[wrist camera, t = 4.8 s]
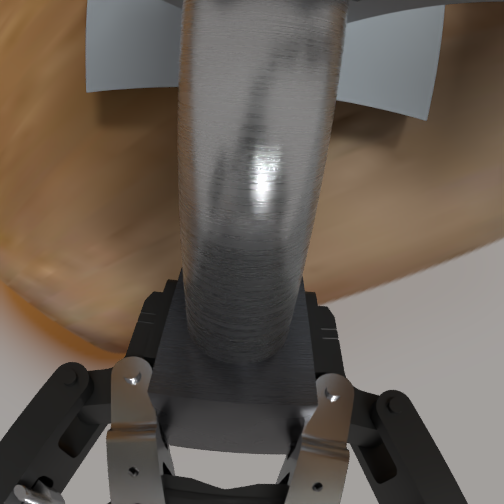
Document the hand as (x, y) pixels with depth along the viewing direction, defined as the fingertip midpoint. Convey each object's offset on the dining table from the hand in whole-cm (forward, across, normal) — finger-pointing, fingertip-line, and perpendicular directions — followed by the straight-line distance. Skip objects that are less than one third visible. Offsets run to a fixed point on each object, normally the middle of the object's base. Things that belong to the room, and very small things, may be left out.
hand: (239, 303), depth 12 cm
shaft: (0, 0, -6) cm, 6 cm away
